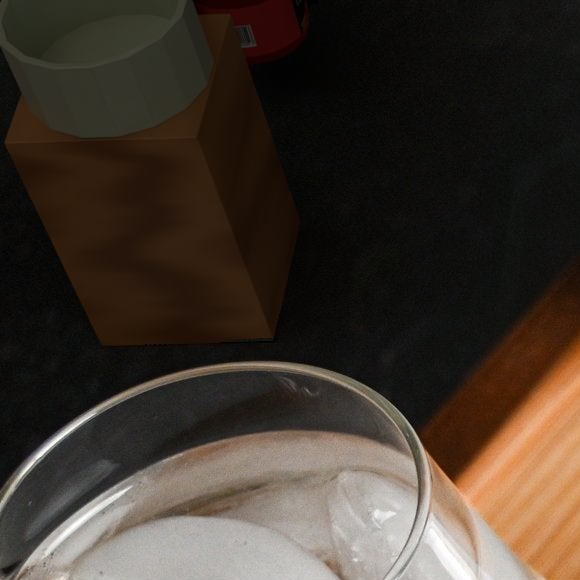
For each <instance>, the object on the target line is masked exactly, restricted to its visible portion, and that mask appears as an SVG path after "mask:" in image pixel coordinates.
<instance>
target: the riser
mask: <svg viewBox="0 0 580 580" xmlns="http://www.w3.org/2000/svg"><path fill="white" fill-rule="evenodd" d="M198 17H199V20H200V23H201V26H202V29H203V31H204V34H205V37H206V40H207V43H208V45H209V48H210V51H211V54H212V57H213V60H214V63H213V67H212V71H211V74H210V78H209V82H208V85H207V86H206V88H205V89H204V90H203V91H202V92H201V93H200V94H199V95H198V97H197V98H196V99H195V100H194V101H193V102H192V103H191V104H190V106H189V107H188V108H187V109H185V110H183V111H182V112H180V113H178V114H176V115H175V116H173V117H171V118H170V119H168V120H166V121H165V122H163V123H161V124H159V125H158V126H155V127H152V128H149V129H145V130H142V131H138V132H135V133H131V134H128V135H124V136H121V137H102V138H80V137H76V136H73V135H69V134H65V133H62V132H58V131H54V130H52V129H50V128H49V127H47V126H46V125H45V124H44V123H43V122H41V121H40V120H39V119H38V118H37V117H35V116H34V115H33V114H32V113H31V112H30V110H29V108H28V105H27V103H26V101H25V99H24V97H23V95H22V93H21V94H20V96H19V100H18V102H17V105H16V108H15V112H14V113H13V117H12V120H11V122H10V126H9V127H8V130H7V134H6V136H5V139H4V146H5V148H6V150H7V152H8V154H9V156H10V158H11V161H12V162H13V165H14V167H15V168H16V171H17V173H18V175H19V177H20V179H21V181H22V183H23V186H24V187H25V190H26V192H27V193H28V196H29V198H30V199H31V201H32V204H33V206H34V209H35V210H36V212H37V214H38V217H39V219H40V220H41V223H42V225H43V227H44V229H45V231H46V233H47V235H48V237H49V239H50V241H51V243H52V246H53V248H54V250H55V252H56V254H57V256H58V258H59V260H60V263H61V264H62V267H63V268H64V270H65V273H66V275H67V277H68V279H69V281H70V283H71V285H72V287H73V289H74V292H75V294H76V295H77V298H78V300H79V302H80V304H81V307H82V308H83V310H84V312H85V314H86V316H87V319H88V321H89V323H90V325H91V327H92V329H93V330H94V332H95V335H96V337H97V340H98V341H99V343H100V345H101V347H125V346H126V347H127V346H128V347H129V346H165V345H164V344H166V346H167V345H169V344H171V345H203V344H204V345H206V344H207V345H208V344H209V345H210V344H222V343H221V342H226V341H232V340H236V339H244V338H245V339H249V338H250V339H257V338H265V339H266V338H273V337H274V334H275V329H276V326H277V322H278V319H279V320H280V317H279V314H280V315H281V313H280V311H281V312H282V308H283V304H282V302H283V303H284V298H285V294H286V289H287V286H288V281H289V276H290V271H291V267H292V262H293V257H294V253H295V249H296V244H297V241H298V235H299V230H300V226H301V223H302V221H301V219H300V216H299V213H298V210H297V207H296V204H295V200H294V198H293V195H292V191H291V189H290V185H289V184H288V183H289V182H288V180H287V177H286V175H285V171H284V168H283V165H282V162H281V160H280V156H279V154H278V150H277V148H276V144H275V142H274V138H273V136H272V132H271V130H270V127H269V124H268V120H267V118H266V115H265V112H264V108H263V106H262V103H261V100H260V97H259V95H258V91H257V88H256V85H255V83H254V79H253V77H252V74H251V70H250V68H249V65H248V64H247V61H246V59H245V56H244V53H243V50H242V47H241V44H240V41H239V38H238V35H237V32H236V29H235V26H234V23H233V20H232V17H231V14H209V15H198ZM281 307H282V308H281ZM278 323H279V322H278ZM277 327H278V326H277ZM145 344H147V345H145ZM150 344H151V345H150ZM154 344H156V345H154ZM159 344H161V345H159Z"/></svg>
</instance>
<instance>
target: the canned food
mask: <svg viewBox="0 0 580 580" xmlns="http://www.w3.org/2000/svg"><path fill="white" fill-rule="evenodd" d="M193 3H194V6H195V9H196V12H197V14H198V15H209V14H231V17H232V20H233V23H234V26H235V29H236V32H237V35H238V38H239V41H240V44H241V47H242V50H243V53H244V56H245V59H246V61H247V64H248V66H253V65H254V66H255V65H260V64H267V63H270V62H273V61H276V60H279V59H281V58H283V57H286V56H287V55H289V54H291V53H293V52H294V51H295V50H296V49H297V48H299V47H300V46H301V44H302V43H304V41H305V40H306V38H307V36H308V34H309V30H310V13H309V8H308V4H307V1H306V0H193Z"/></svg>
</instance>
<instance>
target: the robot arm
mask: <svg viewBox="0 0 580 580" xmlns="http://www.w3.org/2000/svg"><path fill="white" fill-rule="evenodd" d="M306 4H307V7H311V6H316V5H319V0H306Z"/></svg>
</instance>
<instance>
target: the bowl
mask: <svg viewBox="0 0 580 580" xmlns="http://www.w3.org/2000/svg"><path fill="white" fill-rule="evenodd" d="M0 49H1V52H2V53H3V56H4V58H5V59H6V63H7V64H8V66H9V69H10V70H11V72H12V76H13V77H14V79H15V81H16V83H17V86H18V89H19V90H20V92H21V94H22V95H23V97H24V99H25V101H26V103H27V105H28V108H29V110H30V112H31V113H32V114H33V115H34V116H35V117H37V118H38V119H39V120H40V121H41V122H43V123H44V124H45V125H46V126H47V127H49V128H50V129H52V130H54V131H58V132H62V133H65V134H69V135H73V136H76V137H80V138H102V137H121V136H124V135H128V134H131V133H135V132H138V131H142V130H145V129H149V128H152V127H155V126H158V125H159V124H161V123H163V122H165V121H166V120H168V119H170V118H171V117H173V116H175V115H176V114H178V113H180V112H182V111H183V110H185V109H187V108H188V107H189V106H190V104H191V103H192V102H193V101H194V100H195V99H196V98H197V97H198V95H199V94H200V93H201V92H202V91H203V90H204V89H205V88H206V86H207V85H208V82H209V78H210V74H211V71H212V67H213V63H214V60H213V57H212V54H211V51H210V48H209V45H208V43H207V40H206V37H205V34H204V31H203V29H202V26H201V23H200V20H199V17H198V14H197V12H196V9H195V6H194V3H193V0H0Z"/></svg>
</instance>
